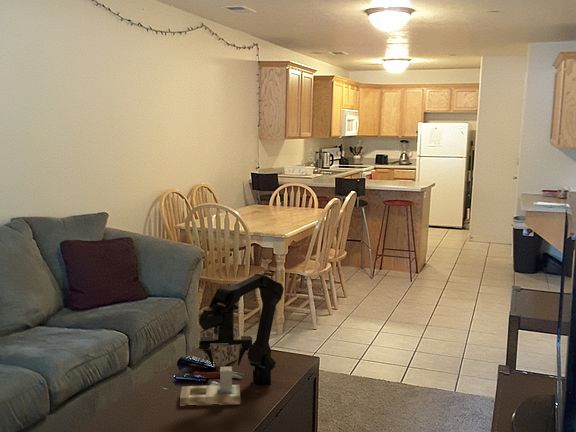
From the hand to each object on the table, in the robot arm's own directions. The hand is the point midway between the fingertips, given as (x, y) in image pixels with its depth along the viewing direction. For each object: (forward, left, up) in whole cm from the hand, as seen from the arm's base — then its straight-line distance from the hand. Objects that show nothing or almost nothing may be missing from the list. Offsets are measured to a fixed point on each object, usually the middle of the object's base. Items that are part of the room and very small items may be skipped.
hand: (225, 365), depth 220 cm
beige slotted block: (+5, 0, -13) cm, 13 cm away
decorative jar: (+3, -38, -13) cm, 40 cm away
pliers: (+3, -21, -13) cm, 25 cm away
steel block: (0, 0, -9) cm, 9 cm away
